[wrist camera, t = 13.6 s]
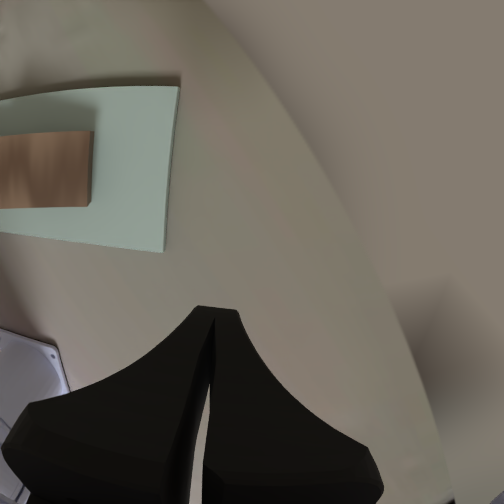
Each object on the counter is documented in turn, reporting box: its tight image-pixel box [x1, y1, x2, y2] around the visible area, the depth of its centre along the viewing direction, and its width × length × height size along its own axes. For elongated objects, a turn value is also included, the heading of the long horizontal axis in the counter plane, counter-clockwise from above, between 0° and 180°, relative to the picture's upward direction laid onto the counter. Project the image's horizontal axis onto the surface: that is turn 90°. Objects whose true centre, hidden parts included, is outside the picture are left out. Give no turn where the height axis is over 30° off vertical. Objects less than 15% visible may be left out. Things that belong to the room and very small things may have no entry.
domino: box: [0, 131, 95, 209], centre depth 15 cm, size 4×2×8 cm
